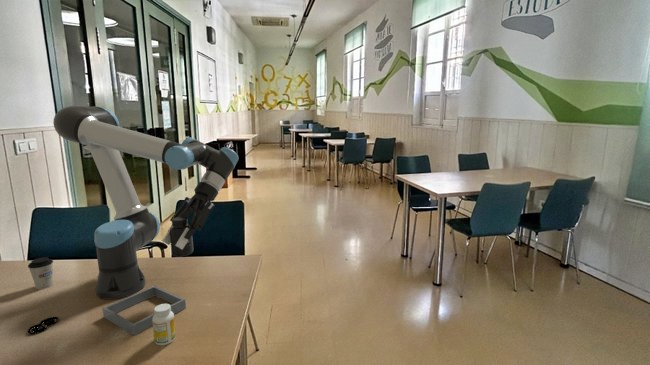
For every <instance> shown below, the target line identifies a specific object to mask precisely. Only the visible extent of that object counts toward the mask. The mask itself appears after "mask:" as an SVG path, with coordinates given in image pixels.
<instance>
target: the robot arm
mask: <svg viewBox="0 0 650 365" xmlns="http://www.w3.org/2000/svg"><path fill="white" fill-rule="evenodd" d="M53 127H54V130H55V132H56V133H57V135H59V136H60V138H63V139H65V140H66V141H69V142H74V143H77V144H81V145H82V148H83V149H85V150H87V151H89V152H90V153H91V156H92V158H93V161H94V163H95V165H96V168H97V170H98V172H99V175H100V177H101V179H102V182H103V184H104V185H103V186H105V189H106V191H107V194H108V195H109V198H110V200H111V204H112V206H113V209H114V211H115V213H116V214H115V215H114V217H113V220H112V221H109V222H105V223H103V224H101V225H99V226H98V227H97V228H96V229H95V230H94V236H93V237H94V241H93V242H94V245H95V250H96V260H97V264H98V265H97V267H98V275H97V279H96V284H95V286H94V290H95V291H94V292H95V295H96V296H97V298H99V299H104V300H115V299H119V298H120V299H121V298H125V297H129V296H132V295H134V294H137V293H139V292H140V291H142V289H143V288H144V287H145V286H146V278H145V275H144V273H143V271H142V269H141V268H140V265H139V264H138V256H137V255H138V254H137V252H138V251H139V250H140V249H141V248H143V247H145V246H146V245H147V244H150V243H151V242H152V241H153V240H155V238H156V237H157V236H158V234H159V232H160V229H161V226H160V219H159V218H158V217H157V216H156V215H155V214H153V213H152V212H150V211H149V209H148V207H147V206H146V205H143V204H142V203H141V201H140V199H139V197H138V195H137V192H136V189H135V186H134V185H133V182H132V179H131V177H130V174H129V172H128V170H127V167H126V164H125V162H124V160H123V157H122V155H121V152H122V153H126V154H129V155H133V156H137V157H141V158H144V159H147V160H152V161H155V162H159V163H163V164H167V166H168V167H169V168H171V169H172V170H175V171H176V170H178V171H179V170H186V169H188V168H190V167H193V166H196V165H200V166H201V167H204V168H206V169H207V170H206V171H205V173H204V174H203V176H202V177H201V178H200V181H198V184H197V185H196V186H195V187H194V195H193V196H191V197H189V196H186V197H185V198H184V199H183V202H182V204H181V205H180V206H179V207H178V208H177V210H176V211H175V213H174V214H173V215H172V217H171V218H170V222H171V223H172V219H173V218H176V217H187V218H188V217H190V216H191V215H192V213H193V215H192V216H191V220H190V223H189V224H188V226H187V227H188V228H187V227H186V229H185V231H184V232H183V234H182V235H181V237H180V238H179V240H178V242H177V243H176V245H175V246H177V247H178V248H180V249H182V250H183V248H184V246H185V245H186V243H187V242H188V240H189V239H190V238H191V236H192V237H193V235H194V233H195V232H197V231H199V232H200V231H201V230H202V228H203V227H204V224H206V221H207V220H208V217H209V216H210V213H211V212H212V211H213V209H214V208H215V204H214V203H212V202H214V201H215V200H216V197H217V196H218V194H219V192H220V191H221V189H222V187H223V186H224V185H225V183H226V182H227V180H228V178H229V177H230V176H231V174H232V172H233V171H234V169H235V167H236V165H237V163H238V162H239V155H238V153H237V152H236V151H234V150H233V149H232V148H229V147H226V146H224V147H221V148H220V149H219V150H218V149H215V148H214V147H211V146H210V145H208V144H206V143H204V142H202V141H200V140H199V139H196V138H194V137H190V136H188V137H186V138H185V139H184V140H183V141H182V143H179V142H175V141H172V140H168V139H164V138H160V137H158V136H157V137H156V136H153V135H150V134H147V133H143V132H139V131H136V130H131V129H128V128H125V127H122V126H120V122H119V119H118V117H117V116H116V114H115V113H114V112H113V111H112V110H109V109H107V108H105V107H100V106H96V105H95V106H94V105H93V106H83V105H82V106H78V105H77V106H76V105H70V106H66V107H63V108H61V109H59V110H58V112H56V114H55V115H54V118H53ZM171 227H173V225H172V224H171V226H170V227H169V228H168V231H167V232H166V233H165V235H164V237H163V238H162V240H161V241H162V243H164V244H166V245H168V246H170V245H171V242H170V228H171Z"/></svg>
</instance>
